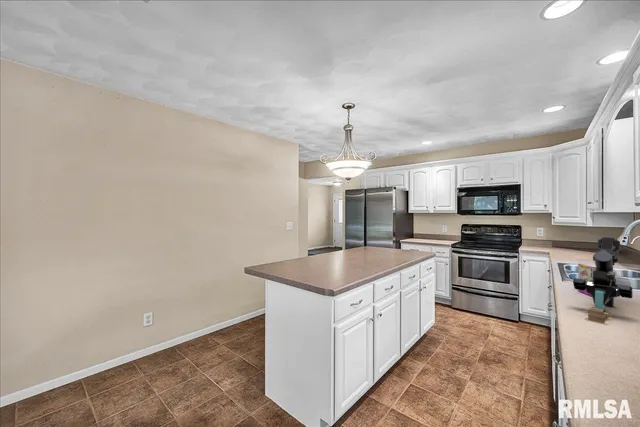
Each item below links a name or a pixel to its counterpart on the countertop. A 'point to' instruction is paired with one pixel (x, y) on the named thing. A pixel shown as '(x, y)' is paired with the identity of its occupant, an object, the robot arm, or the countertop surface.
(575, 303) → the countertop surface
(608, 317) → the rack
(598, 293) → the teal panel
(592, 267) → the candy bar box
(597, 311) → the offcut stack
